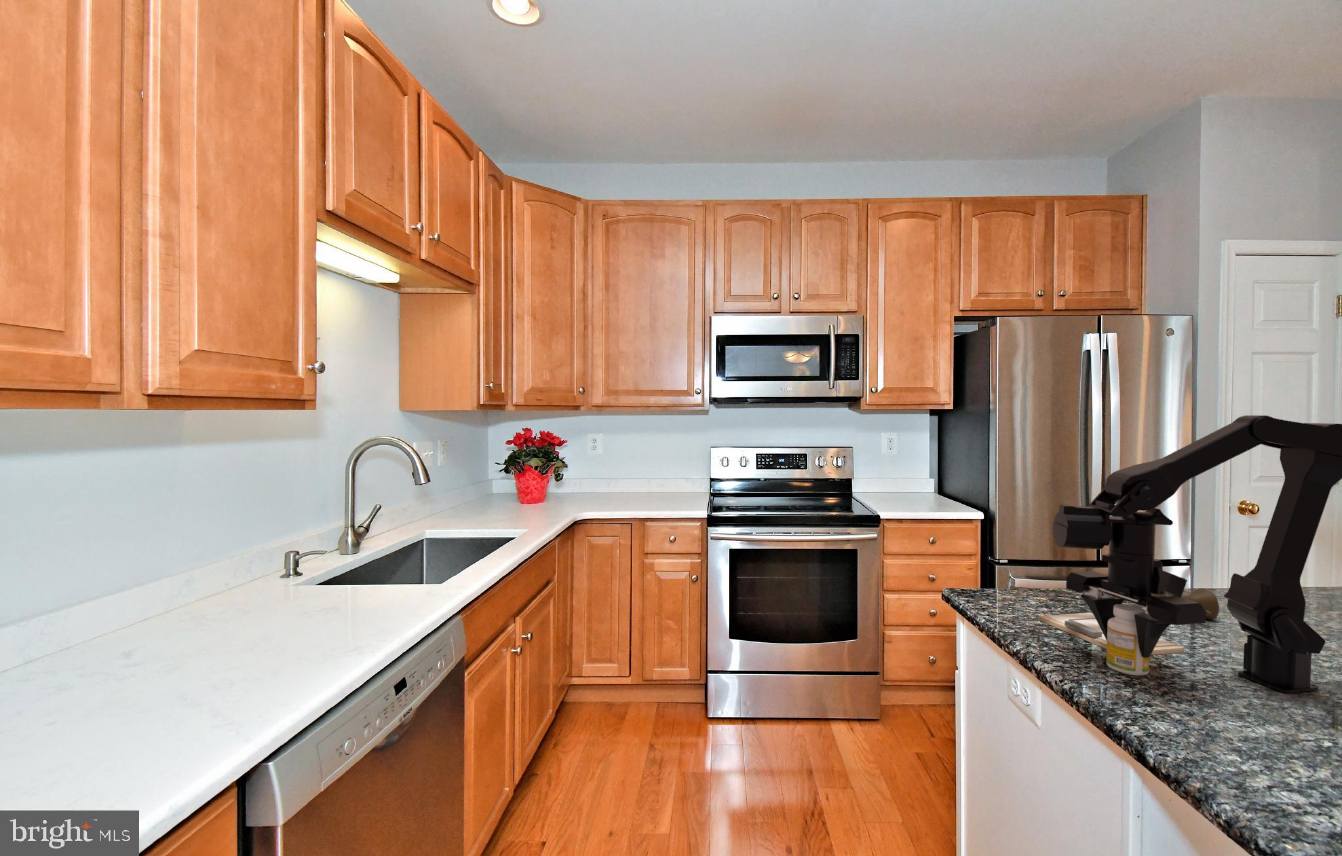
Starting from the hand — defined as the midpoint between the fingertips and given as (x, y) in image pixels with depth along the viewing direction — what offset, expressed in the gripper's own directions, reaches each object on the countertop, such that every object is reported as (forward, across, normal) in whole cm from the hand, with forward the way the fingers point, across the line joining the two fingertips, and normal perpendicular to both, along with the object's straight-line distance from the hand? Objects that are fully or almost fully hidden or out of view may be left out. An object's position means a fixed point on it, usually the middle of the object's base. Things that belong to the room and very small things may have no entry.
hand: (1127, 649), depth 95 cm
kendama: (+4, +22, -35) cm, 42 cm away
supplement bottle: (+3, 0, 0) cm, 3 cm away
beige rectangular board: (+3, +13, -10) cm, 17 cm away
